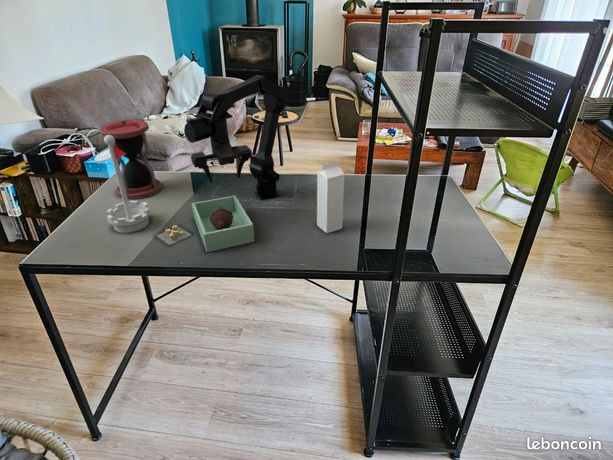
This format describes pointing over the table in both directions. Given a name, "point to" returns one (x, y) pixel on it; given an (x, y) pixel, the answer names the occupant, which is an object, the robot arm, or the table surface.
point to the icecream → (221, 219)
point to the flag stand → (125, 200)
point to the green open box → (224, 238)
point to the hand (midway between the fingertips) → (225, 180)
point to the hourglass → (133, 157)
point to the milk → (330, 197)
